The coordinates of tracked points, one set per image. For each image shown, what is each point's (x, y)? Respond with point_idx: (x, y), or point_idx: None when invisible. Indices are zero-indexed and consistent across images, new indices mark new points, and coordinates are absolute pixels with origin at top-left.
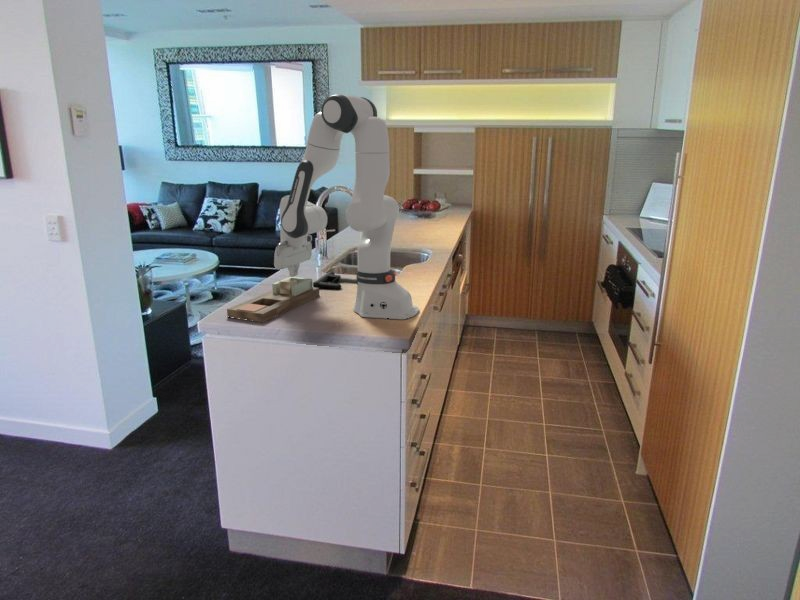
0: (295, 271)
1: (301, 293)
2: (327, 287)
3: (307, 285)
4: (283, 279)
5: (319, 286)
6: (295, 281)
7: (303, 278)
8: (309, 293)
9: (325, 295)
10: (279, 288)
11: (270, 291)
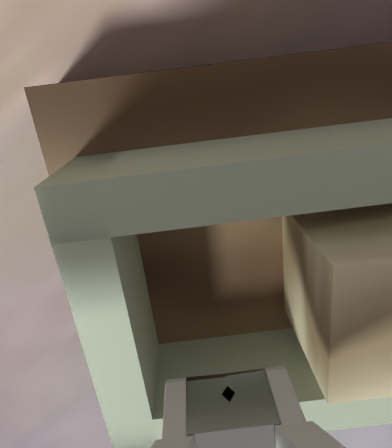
0: (229, 434)
1: (331, 113)
2: None
3: (182, 154)
4: None
5: None
6: (358, 251)
7: (94, 302)
8: (250, 60)
9: (7, 33)
10: None
11: None
